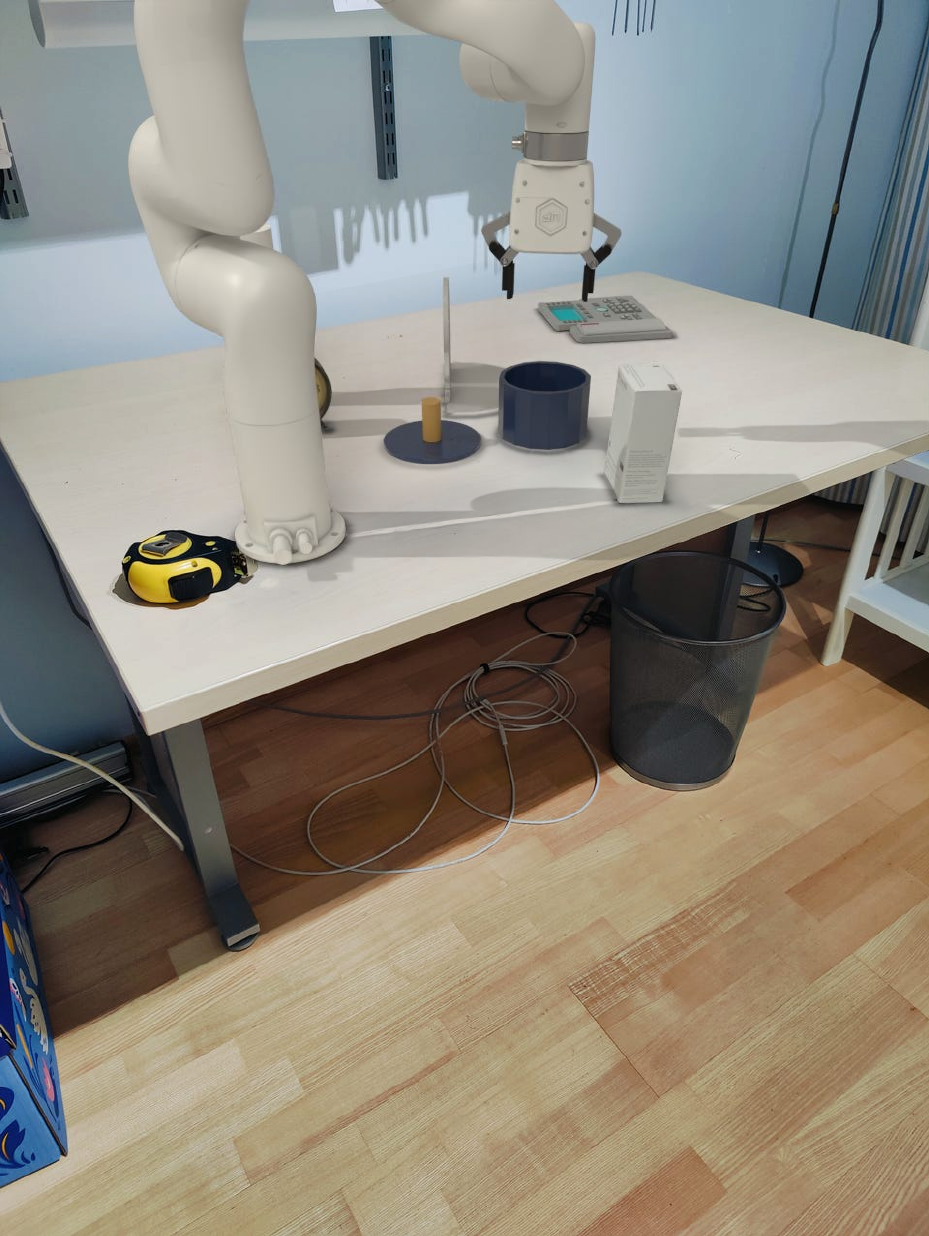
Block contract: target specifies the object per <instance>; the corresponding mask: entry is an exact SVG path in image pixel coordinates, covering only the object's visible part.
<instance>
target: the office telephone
mask: <svg viewBox="0 0 929 1236" xmlns="http://www.w3.org/2000/svg"><path fill="white" fill-rule="evenodd" d="M537 309H538V311H539V313H540V314H541V315H542V316H543V318H544V319H545V320H546V321H547V322H548V324H549V325H550V326H551V327H552V328H553V329H554V330H555V331H556V332H561V331H563V332H564V331H569V334H570V335H571V336H572V337H573V339H574V340H575V341H576V343H581V344H586V343H588V344H589V343H607V342H626V341H642V340H643V341H644V340H660V339H672V336H673V331H672V329H670V328H669V327H668V326H667V325H666V324H665V322H664V321H663V319H661V318H659V317H658V318H657V317H656V316H655V315H654V314H652V312H650V311H649V310H648V309H647V308H646V307H645V306H644V305H642V304H641V303H640V302H639V301H638V300H637V299H636V298H635V296H632V295H617V296H616V295H615V296H601V297H599V296H598V297H588V300H587V302H583V301H582V298H579V299H577V300H565V301H563V300H562V301H550V302H549V301H547V302H544V301H543V302H541V301H540V302H538V304H537Z"/></svg>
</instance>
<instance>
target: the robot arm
mask: <svg viewBox="0 0 929 1236" xmlns="http://www.w3.org/2000/svg"><path fill="white" fill-rule="evenodd" d="M374 1H375V3H377V4H378V5H379V6H380V7H381V8H382V9H384V10H385V11H386V12H387V13H388V14H389V15H390V16H392V17H393V18H394V19H395V20H397V21H398V22H400V23H402V24H404V25H406V26H408V27H410V28H413V29H414V30H417V31H420V32H422V33H425V34H428V35H430V36H435V37H438V38H442V39H446V40H449V41H454V42H457V43H460V44H461V47H460V50H459V56H458V67H459V72H460V76H461V78H462V80H463V82H464V83H465V85H466V87H467V88H468V89H469V90H470V91H471V92H472V93H474V94H475V95H477V96H478V97H479V98H482V99H485V100H488V101H492V102H493V101H494V102H504V103H521V104H525V110H524V111H525V113H524V132H522V133H521V134H520V135H519V134H518V136H512V137H511V150H517V151H519V152H520V153H521V154H522V155H523V156H522V157H523V158H522V159H518V161H516V165H515V170H514V176H513V179H512V180H513V181H512V189H511V201H510V211H507V212H506V213H504V214H502V215H500V216H498V217H496V218H494V219H493V220H491V221H489V222H487V223H484V224H483V225H482V227H481V229H480V231H481V234H482V237H483V239H484V241H485V243H486V245H487V247H488V250H489V252H490V253H491V254H492V255H493V256H494V257H495V259H496V260H497V261H498V262H499V263H500V266H502V275H501V291H502V292H503V291H504V292H506V300H512V299H513V297H514V293H515V269H516V268H515V264H516V263H515V262H514V259H515V258H516V257H517V255H518V254H519V253H522V254H539V255H541V254H543V255H545V254H546V255H580V256H581V258H582V259H583V260H584V261H585V264H584V265H583V273H582V287H581V299H582V301H583V302H587V300H588V298H589V294H594V291H595V282H596V281H595V279H596V269H597V268H598V267H599V265H600V264H602V263H603V261H605V260H606V259H607V258H608V257H610V256H611V254H612V253H613V250H614V248H615V247H616V245H617V244H618V242H619V241H620V238H621V237H622V229H621V228H620V227H618V226H616V225H615V224H613V223H612V222H610V221H608V220H607V219H605V218H603V217H602V216H600V215H598V214H597V213H595V212H594V211H595V173H594V164H593V162H592V161H591V160H588V147H589V136H590V122H591V110H592V109H591V108H592V98H593V97H592V95H593V82H594V71H595V70H594V69H595V55H596V38H597V37H596V32H595V30H594V28H593V26H592V25H591V24H589V23H587V22H585V21H572V19H571V18H570V17H569V16H568V14H567V13H566V12H565V11H564V9H562V8H561V6H560V5H559V4H558V3H557V2H556V1H555V0H374ZM250 2H251V0H134V3H133V4H134V5H133V29H134V40H135V45H136V51H137V55H138V61H139V64H140V69H141V72H142V76H143V79H144V83H145V87H146V91H147V96H148V98H149V99H148V100H149V103H150V107H151V110H152V113H153V114H152V115H151V116H150V117H148V118H147V119H145V120H144V121H143V122H142V123H141V124H140V125H139V127H138V128H137V129H136V131H135V133H134V134H133V137H132V139H131V142H130V144H129V145H130V146H129V149H128V159H127V161H128V162H127V167H128V169H127V170H128V178H129V184H130V188H131V192H132V195H133V198H134V201H135V205H136V207H137V211H138V214H139V216H140V219H141V222H142V226H143V228H144V231H145V234H146V237H147V240H148V242H149V245H150V249H151V251H152V254H153V257H154V260H155V262H156V265H157V268H158V270H159V274H160V276H161V279H162V282H163V284H164V286H165V289H166V291H167V294H168V295H169V297H170V299H171V301H172V303H173V305H174V306H175V307H176V309H178V311H179V312H180V313H181V314H182V315H183V317H185V318H186V319H188V320H189V321H190V322H192V323H194V324H196V325H197V326H199V327H200V328H203V329H205V330H207V331H209V332H212V333H214V334H216V335H218V336H219V337H221V338H223V341H224V348H225V349H224V351H225V352H224V362H223V369H222V390H223V391H222V392H223V399H224V405H225V410H226V414H227V420H228V425H229V426H228V427H229V431H230V437H231V443H232V449H233V454H234V460H235V466H236V471H237V476H238V477H237V478H238V483H239V487H240V493H241V494H240V495H241V498H242V499H241V500H242V505H243V511H244V516H245V517H244V518H243V519H242V520H241V521H240V522H239V523H238V524H237V526H236V528H235V530H234V540H235V543H236V547H237V549H238V550H239V551H240V553H242V554H243V555H244V556H246V557H249V558H251V559H253V560H256V561H259V562H263V563H268V564H278V565H281V566H283V565H285V566H286V565H288V564H295V563H302V562H307V561H311V560H313V559H317V558H320V557H322V556H324V555H327V554H328V553H330V552H331V551H333V550H334V549H335V548H337V547H338V546H340V544H341V543H342V542H343V541H344V539H345V537H346V530H347V529H346V521H345V519H344V516H342V514H341V513H339V511H337V510H335V509H333V508H332V507H331V506H330V505H331V504H330V499H329V498H330V497H329V496H330V495H329V488H328V487H329V486H328V478H327V468H326V460H325V451H324V443H323V434H322V426H321V424H320V415H319V406H318V399H317V389H316V379H315V363H314V357H315V349H316V348H315V347H316V346H315V345H316V331H317V320H318V319H317V317H318V306H317V305H318V304H317V298H316V293H315V290H314V286H313V285H312V282H311V280H310V278H309V277H308V275H307V274H306V273H305V270H304V269H303V268H302V267H301V266H300V265H299V264H298V263H297V262H296V261H294V260H293V259H292V258H290V257H289V256H287V255H286V254H284V253H283V252H280V251H278V250H276V249H275V248H274V249H271V248H268V247H265V246H261V245H258V244H255V243H252V242H249V241H244V240H241V239H240V236H242V235H247V234H250V233H253V232H255V231H257V230H259V229H260V228H261V227H262V226H263V225H264V224H267V222H268V221H269V219H270V217H271V216H272V213H273V210H274V204H275V198H276V194H275V193H276V192H275V181H274V176H273V171H272V167H271V164H270V159H269V156H268V155H269V154H268V151H267V147H266V143H265V139H264V135H263V131H262V128H261V123H260V120H259V119H260V118H259V116H258V111H257V108H256V105H255V104H256V103H255V99H254V95H253V91H252V87H251V83H250V77H249V73H248V67H247V62H246V55H245V46H244V31H245V21H246V18H247V17H246V16H247V12H248V7H249V5H250ZM508 226H509V227H508ZM505 227H508V229H509V230H508V231H509V233H508V241H509V245H508V246H507V248H505V247H504V246H503V245H502V244H501V242H499V240H498V239H497V237H496V233H497V232H498V231H500V230H502V229H504V228H505ZM594 228H595V229H596V230H598V231H599V232H601V233H602V234H605V235H606V238H605V241H604V243H603V244H602V245H601V246H600V247H599V248H597V250H594V249H593V248H592V241H593V232H594Z"/></svg>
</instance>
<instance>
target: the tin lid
mask: <svg viewBox="0 0 929 1236" xmlns="http://www.w3.org/2000/svg"><path fill="white" fill-rule="evenodd" d="M481 438H482V437H481V435H480V433H479V432H478V430H477V429H476V428H473V427H472V426H470V425H467V424H465V423H462V422H458V421H453V420H447V419H446V420H445V419H442V401H441V399H440V398H438V397H435V396H429V397H428V396H427V397H424V398H422V399H421V420H416V421H411V422H407V423H404V424H401V425H398V426H396V427H394V428H392V429H391V430H389V431H388V432H387V433H386V434H385V436H384V438H383V446H384V449H385V451H386V452H387V453H388V454H389V455H391V456H392V457H394V458H396V459H398V460H401V461H404V462H409V463H414V464H422V465H423V464H425V465H435V464H436V465H437V464H445V463H452V462H456V461H460V460H462V459H466V458H468V457H470V456H471V455H473V454H475V453H476V452H477V451H478V450H479V449H480V447H481V444H482V440H481Z"/></svg>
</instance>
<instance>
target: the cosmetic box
mask: <svg viewBox="0 0 929 1236" xmlns="http://www.w3.org/2000/svg"><path fill="white" fill-rule="evenodd" d="M617 369H618V370H617V375H616V385H615V392H614V399H613V407H612V414H611V421H610V428H609V436H608V442H607V450H606V457H605V465H604V466H605V467H604V471H603V472H604V475H605V477H606V478H607V479H608V481H609V483H610V485H611V487H612V489H613V491H614V493H615V497H616V502H617V503H618V504H641V503H662V502H663V501H664V495H665V489H666V482H667V478H668V472H669V466H670V460H671V456H672V450H673V444H674V439H675V435H676V434H675V432H676V429H677V428H676V427H677V422H678V418H679V417H678V416H679V412H680V411H679V410H680V406H681V399H682V395H683V390H682V389H681V387H680V386H679V385H678V383H676V381H675V377H674V376H673V374H671V373H670V372H669V371H668V370H667V368H666V367H665V365H663V364H618V368H617Z"/></svg>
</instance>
